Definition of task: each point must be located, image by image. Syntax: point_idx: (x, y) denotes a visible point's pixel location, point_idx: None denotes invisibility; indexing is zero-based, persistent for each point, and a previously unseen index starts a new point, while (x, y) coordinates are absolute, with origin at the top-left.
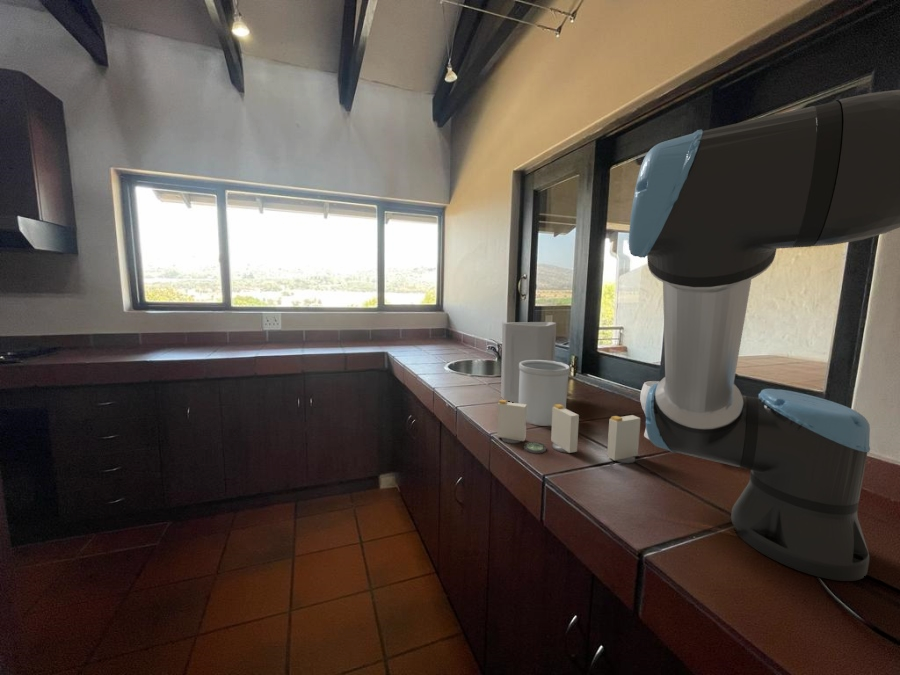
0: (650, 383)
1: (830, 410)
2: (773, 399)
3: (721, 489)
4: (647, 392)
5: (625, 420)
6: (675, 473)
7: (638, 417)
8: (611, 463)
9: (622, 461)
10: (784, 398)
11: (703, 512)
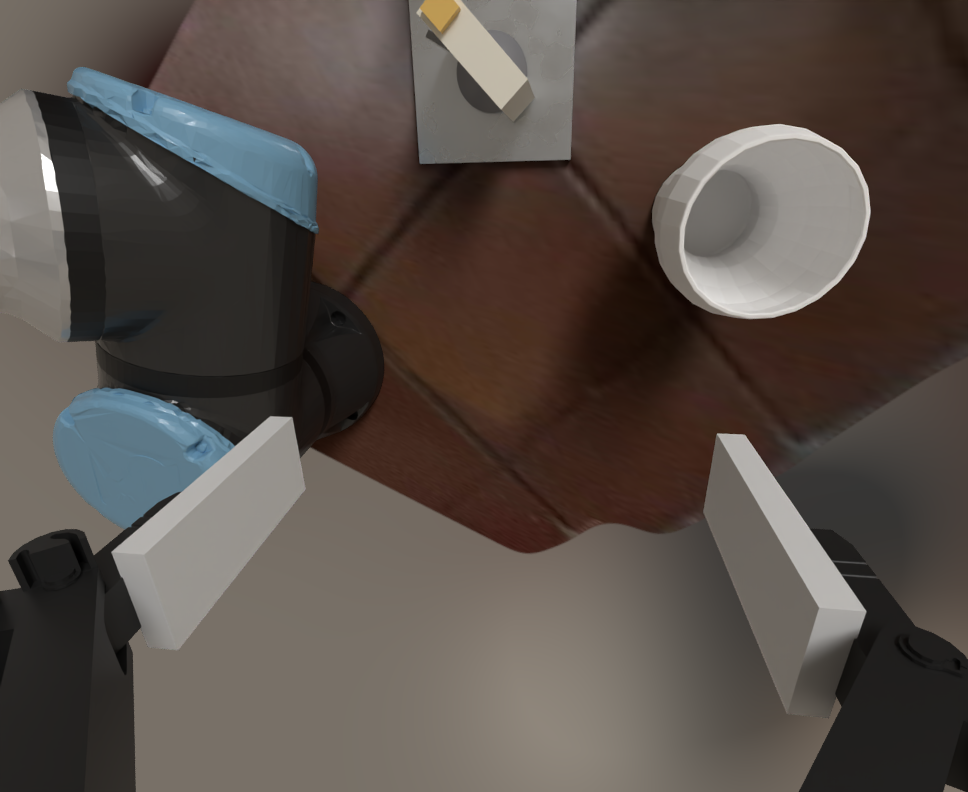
0: (851, 174)
1: (87, 487)
2: (71, 404)
3: (443, 303)
4: (719, 149)
5: (449, 47)
6: (480, 219)
7: (506, 102)
8: (438, 38)
9: (456, 72)
10: (89, 430)
11: (328, 243)
